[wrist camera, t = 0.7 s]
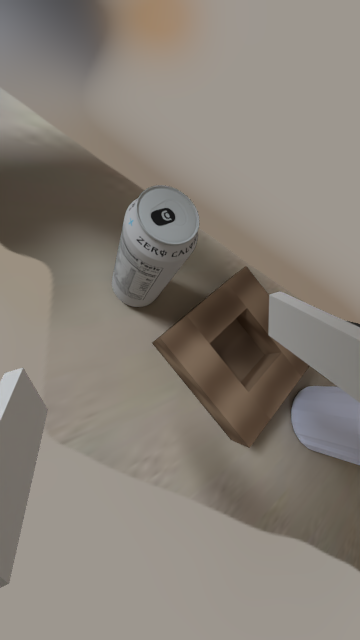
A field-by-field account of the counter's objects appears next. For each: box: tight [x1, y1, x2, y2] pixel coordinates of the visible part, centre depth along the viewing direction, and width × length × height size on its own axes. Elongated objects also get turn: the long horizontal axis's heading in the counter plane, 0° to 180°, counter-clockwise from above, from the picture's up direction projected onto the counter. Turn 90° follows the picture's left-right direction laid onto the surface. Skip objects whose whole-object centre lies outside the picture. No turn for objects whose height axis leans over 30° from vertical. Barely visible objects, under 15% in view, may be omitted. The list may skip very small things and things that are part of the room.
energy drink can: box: [112, 185, 199, 307], centre depth 24 cm, size 6×6×15 cm
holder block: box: [153, 267, 309, 448], centre depth 32 cm, size 16×16×4 cm
